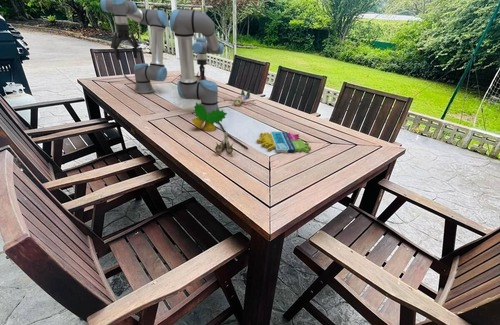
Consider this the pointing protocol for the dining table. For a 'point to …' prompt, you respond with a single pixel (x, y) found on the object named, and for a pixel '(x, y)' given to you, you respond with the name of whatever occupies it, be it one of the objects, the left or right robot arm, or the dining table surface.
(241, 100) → the toy
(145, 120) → the dining table surface
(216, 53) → the right robot arm
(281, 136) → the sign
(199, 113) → the ornament
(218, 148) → the jawbone
